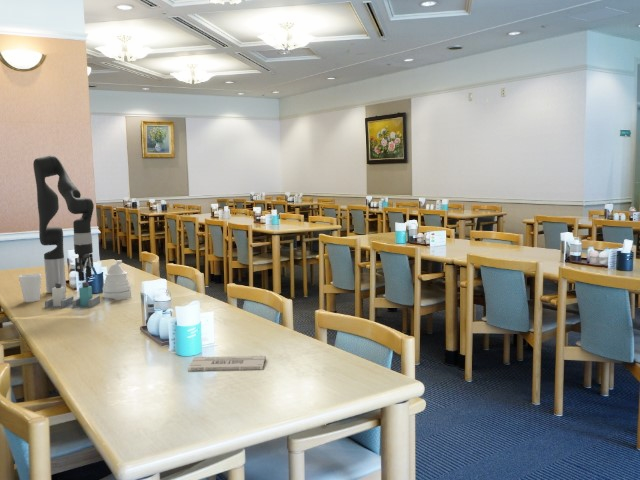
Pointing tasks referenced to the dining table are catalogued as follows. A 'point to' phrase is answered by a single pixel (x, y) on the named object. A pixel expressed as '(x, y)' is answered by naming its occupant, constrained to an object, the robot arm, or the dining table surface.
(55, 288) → the white plug
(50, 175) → the robot arm
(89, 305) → the comb board
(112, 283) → the honey pot
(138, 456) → the dining table surface
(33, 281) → the foam cup
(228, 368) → the newspaper
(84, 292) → the teal plug
